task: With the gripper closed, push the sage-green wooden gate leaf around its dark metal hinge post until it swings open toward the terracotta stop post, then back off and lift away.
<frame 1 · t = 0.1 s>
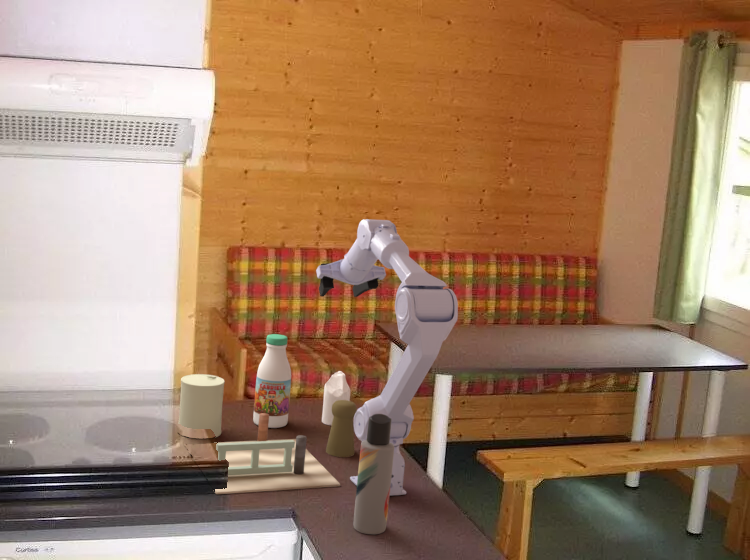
hand: (337, 292, 212), 32 cm above the countertop, tool tilted 50°, fingers open, 7 cm apart
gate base: (259, 465, 197), on the countertop
lotion bottle: (369, 529, 172), on the countertop
white chalk piece: (334, 423, 229), on the countertop
cork: (340, 453, 209), on the countertop
milk bottle: (270, 424, 223), on the countertop
can: (199, 433, 213), on the countertop
gate leaf: (255, 457, 190), point 4 cm above the countertop, hinge at 0.0°
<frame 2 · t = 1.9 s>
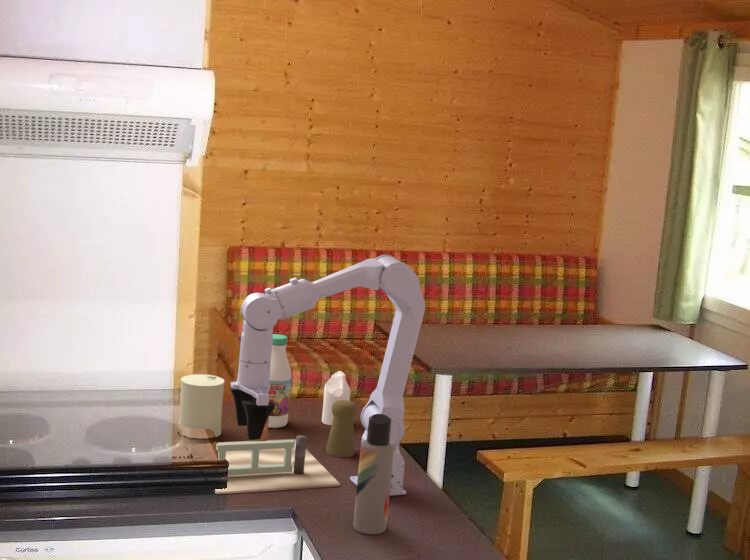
hand: (248, 431, 183), 11 cm above the countertop, tool pointing down, fingers open, 7 cm apart
nothing on the countertop moved.
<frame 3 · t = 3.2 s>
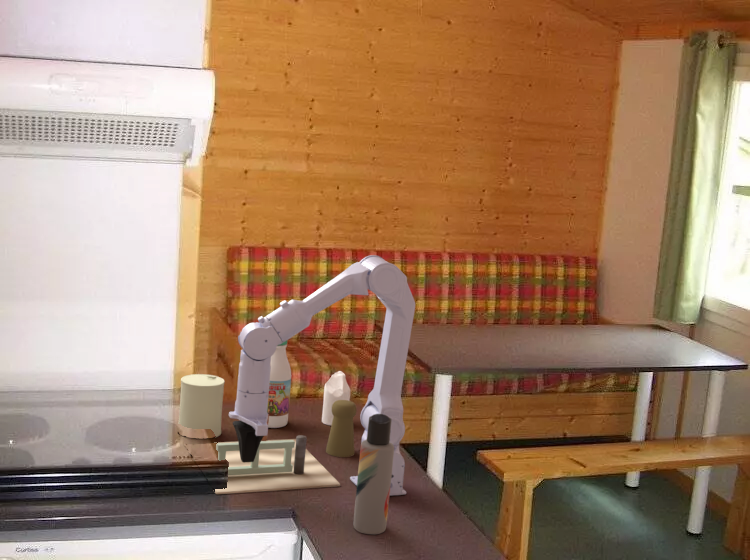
hand: (247, 460, 184), 5 cm above the countertop, tool pointing down, fingers closed
nothing on the countertop moved.
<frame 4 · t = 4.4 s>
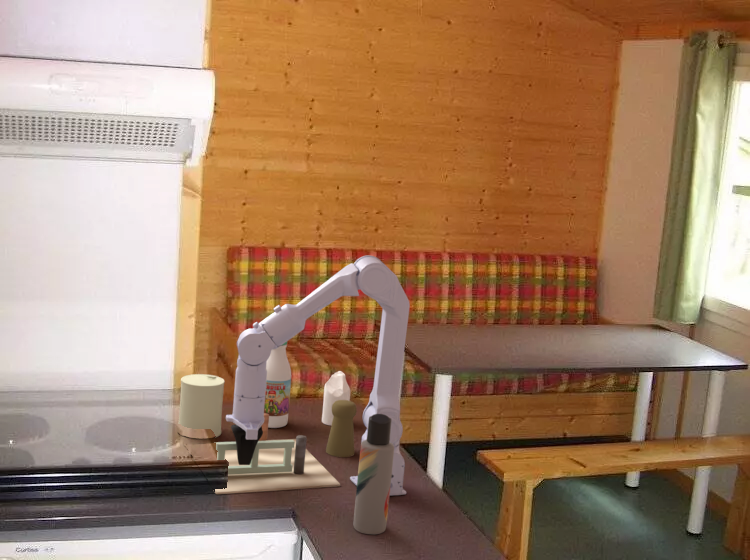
hand: (244, 464, 187), 3 cm above the countertop, tool pointing down, fingers closed
gate leaf: (254, 457, 190), point 4 cm above the countertop, hinge at 1.9°, touching gripper
everything else where it was.
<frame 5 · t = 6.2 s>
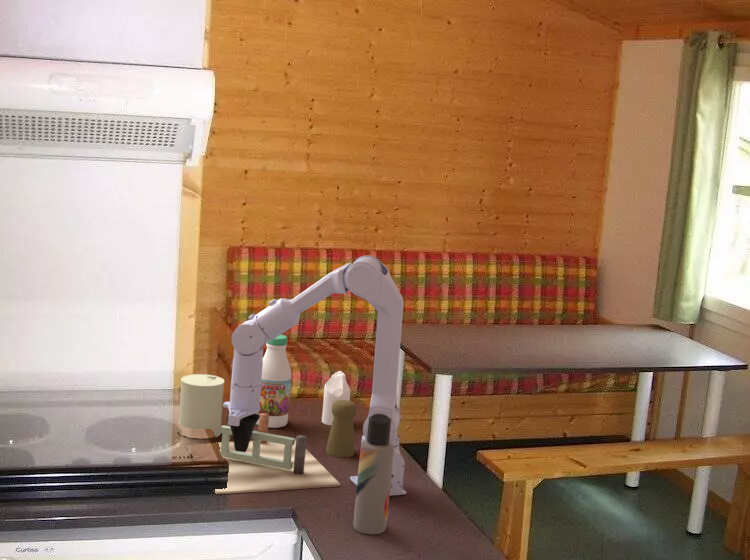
hand: (240, 451, 194), 3 cm above the countertop, tool pointing down, fingers closed
gate leaf: (256, 447, 195), point 4 cm above the countertop, hinge at 38.3°, touching gripper
everything else where it was.
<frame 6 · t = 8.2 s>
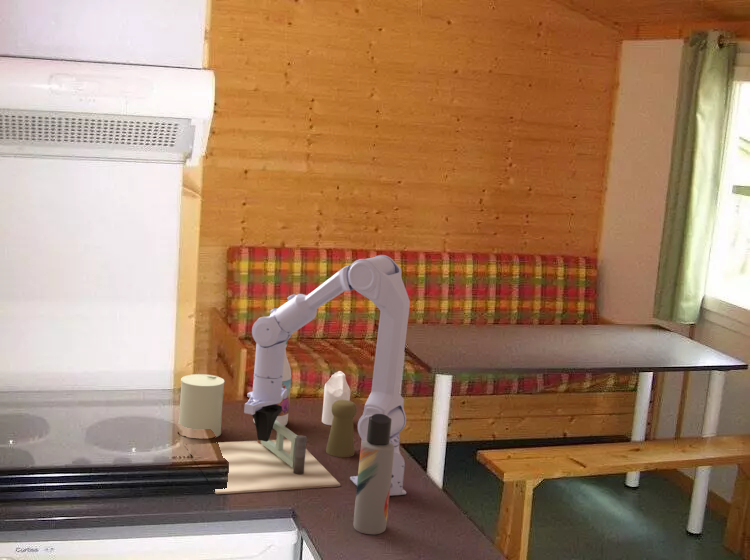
hand: (263, 440, 201), 3 cm above the countertop, tool pointing down, fingers closed
gate leaf: (279, 440, 201), point 4 cm above the countertop, hinge at 82.5°, touching gripper
everything else where it was.
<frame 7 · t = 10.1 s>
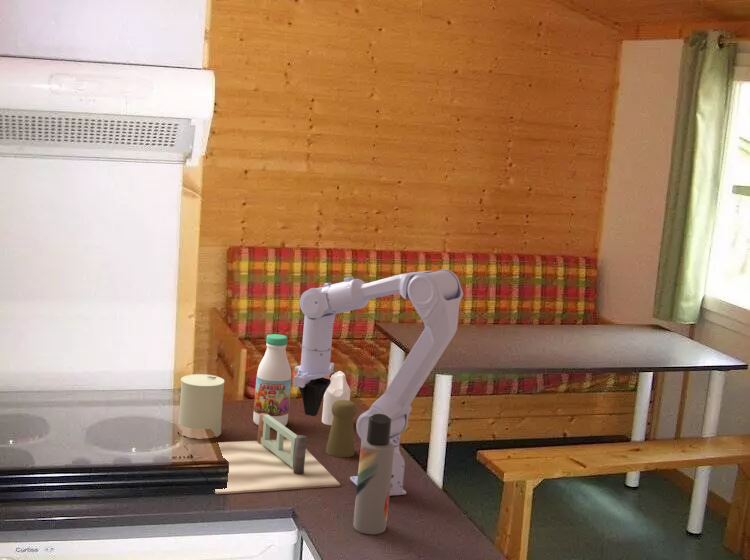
hand: (311, 414, 198), 10 cm above the countertop, tool pointing down, fingers closed
gate leaf: (280, 440, 201), point 4 cm above the countertop, hinge at 82.6°
everything else where it was.
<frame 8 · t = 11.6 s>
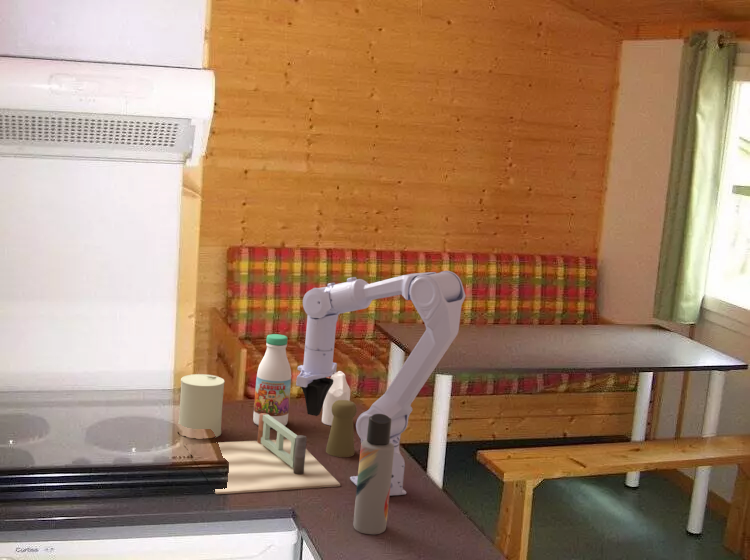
hand: (313, 414, 198), 10 cm above the countertop, tool pointing down, fingers closed
nothing on the countertop moved.
at the end: gate leaf at +83° (first picture: +0°); cork moved 0.2 cm from its start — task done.
